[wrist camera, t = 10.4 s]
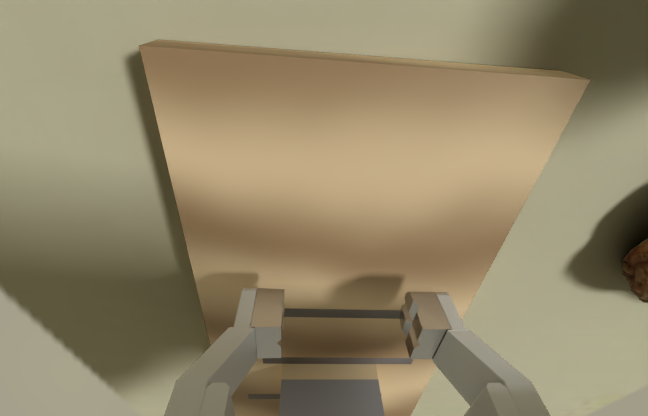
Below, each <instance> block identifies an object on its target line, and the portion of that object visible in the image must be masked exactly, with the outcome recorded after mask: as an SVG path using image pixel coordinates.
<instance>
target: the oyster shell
mask: <svg viewBox="0 0 648 416" xmlns="http://www.w3.org/2000/svg"><path fill="white" fill-rule="evenodd" d="M623 260H624V261H622V262H621V264H622V266H623V272H622V274H623V275H625V276H626V278H627V280H629V285H630V287H631V291H632V292H633V293H634V294H635V295H637V296H638V297H639V299H640V300H641V301H643V302H644V303H648V238H647V239H645V240H644V241H643V242H641V243H640V244H639V245H637V246H636V247H634V248H633V249H632V250H631V251H630V252H629V253H628V254H627V255H626V256H625V257H624V258H623Z"/></svg>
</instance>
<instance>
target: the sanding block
mask: <svg viewBox="0 0 648 416" xmlns="http://www.w3.org/2000/svg"><path fill="white" fill-rule="evenodd" d="M279 416H385V415H384V409H383V403H382V398H381V392H380V386H379V381H378V375H377V369H376V364H282V378H281V391H280V405H279Z"/></svg>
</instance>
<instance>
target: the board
mask: <svg viewBox="0 0 648 416" xmlns="http://www.w3.org/2000/svg"><path fill="white" fill-rule="evenodd" d="M139 48H140V52H141V57H142V61H143V65H144V69H145V73H146V78H147V82H148V86H149V90H150V94H151V99H152V103H153V107H154V111H155V115H156V120H157V124H158V128H159V132H160V136H161V141H162V145H163V149H164V153H165V157H166V162H167V166H168V170H169V174H170V178H171V183H172V187H173V191H174V195H175V199H176V204H177V208H178V212H179V216H180V220H181V225H182V229H183V233H184V237H185V241H186V246H187V250H188V254H189V258H190V262H191V267H192V271H193V275H194V279H195V283H196V288H197V292H198V296H199V300H200V304H201V309H202V313H203V317H204V321H205V325H206V330H207V334H208V338H209V342H210V346H211V345H212V344H213V343H214V342H215V341H216V340H217V339H218V338H219V337H220V336H221V335H222V334H223V333H224V332H225V331H226V330H227V329H228V328H229V327H234V322H235V318H236V314H237V309H238V305H239V301H240V296H241V292H242V290H243V288H269V289H285V300H284V303H285V314H284V329H283V342H282V354H281V358H257V361H256V362H255V364H254V365H253V367H252V368H251V369H250V371H249V372H248V374H247V375H246V376H245V378H244V379H243V381H242V382H241V383H240V385H239V386H238V388H237V389H236V391H235V392H234V393H233V395H232V396H231V397H232V402H233V408H234V413H235V416H279V405H280V391H281V378H282V364H376V369H377V375H378V381H379V386H380V392H381V398H382V403H383V409H384V415H385V416H410V415H411V413H412V412H413V410H414V408H415V406H416V404H417V402H418V400H419V399H420V397H421V395H422V393H423V391H424V389H425V387H426V386H427V384H428V382H429V380H430V378H431V376H432V374H433V372H434V371H435V369H436V367H437V366H436V365H435V363H434V362H433V361H432V359H410V358H409V354H408V350H407V347H406V343H405V341H406V338H407V335H406V334H405V333H404V332H403V331H402V328H401V325H400V310H401V306H402V305H403V304H405V303H406V302H405V299H404V297H405V295H406V293H407V292H447V293H448V294H449V295H450V297H451V299H452V301H453V303H454V305H455V307H456V310H457V312H458V314H459V316H460V318H461V320H462V318H463V317H464V315H465V313H466V311H467V309H468V307H469V305H470V304H471V302H472V300H473V298H474V296H475V294H476V292H477V291H478V289H479V287H480V285H481V283H482V281H483V279H484V278H485V276H486V274H487V272H488V270H489V268H490V266H491V264H492V263H493V261H494V259H495V257H496V255H497V253H498V251H499V250H500V248H501V246H502V244H503V242H504V240H505V238H506V237H507V235H508V233H509V231H510V229H511V227H512V225H513V224H514V222H515V220H516V218H517V216H518V214H519V212H520V210H521V209H522V207H523V205H524V203H525V201H526V199H527V197H528V196H529V194H530V192H531V190H532V188H533V186H534V184H535V183H536V181H537V179H538V177H539V175H540V173H541V171H542V170H543V168H544V166H545V164H546V162H547V160H548V158H549V157H550V155H551V153H552V151H553V149H554V147H555V145H556V143H557V142H558V140H559V138H560V136H561V134H562V132H563V130H564V129H565V127H566V125H567V123H568V121H569V119H570V117H571V116H572V114H573V112H574V110H575V108H576V106H577V104H578V103H579V101H580V99H581V97H582V95H583V93H584V91H585V89H586V88H587V86H588V84H589V82H590V80H589V79H586V78H583V77H580V76H577V75H574V74H570V73H567V72H564V71H558V70H545V69H533V68H520V67H507V66H494V65H481V64H468V63H455V62H442V61H429V60H416V59H404V58H391V57H378V56H365V55H352V54H339V53H326V52H313V51H300V50H287V49H275V48H262V47H249V46H236V45H223V44H210V43H197V42H184V41H171V40H159V39H158V40H155V41H152V42H149V43H146V44H143V45H139Z"/></svg>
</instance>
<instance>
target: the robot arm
mask: <svg viewBox="0 0 648 416" xmlns="http://www.w3.org/2000/svg"><path fill="white" fill-rule="evenodd" d="M404 299H405V302H406V303H405V304H403V305H402V306H401V310H400V325H401V328H402V331H403V332H404V333H405V334H406V335H407V338H406V341H405V343H406V347H407V350H408V354H409V358H410V359H432V361H433V362H434V363H435V365H436V366H437V367H438V368H439V369H440V370H441V372H442V373H443V374H444V375H445V376H446V378H447V379H448V380H449V381H450V382H451V384H452V385H453V386H454V387H455V388H456V390H457V391H458V392H459V393H460V394H461V395H462V397H463V398H464V399H465V400H466V401H467V403H468V404H469V405H470V408H469V409H468V410H467V412H466V413H465V415H464V416H550V414H549V412H548V410H547V409H546V407H545V405H544V403H543V402H542V400H541V398H540V396H539V395H538V393H537V391H536V389H535V388H534V386H533V384H532V382H531V381H530V380H528V379H527V378H526V377H525V376H524V375H523V374H521V373H520V372H519V371H518V370H517V369H515V368H514V367H513V366H512V365H511V364H509V363H508V362H507V361H506V360H505V359H504V358H502V357H501V356H500V355H499V354H498V353H496V352H495V351H494V350H493V349H492V348H490V347H489V346H488V345H487V344H486V343H485V342H483V341H482V340H481V339H480V338H479V337H477V336H476V335H475V334H474V333H473V332H471V331H470V330H466V329H465V326H464V324H463V322H462V320H461V318H460V316H459V314H458V312H457V310H456V307H455V305H454V303H453V301H452V299H451V297H450V295H449V294H448V293H447V292H407V293H406V295H405V297H404ZM284 300H285V289H269V288H243V290H242V292H241V296H240V301H239V305H238V309H237V314H236V318H235V322H234V327H229V328H228V329H227V330H226V331H225V332H224V333H223V334H222V335H221V336H220V337H219V338H218V339H217V340H216V341H215V342H214V343H213V344H212V345H211V346H210V347H209V348H208V349H207V350H206V351H205V352H204V353H203V354H202V355H201V356H200V357H199V358H198V359H197V361H196V362H195V363H194V364H193V365H192V366H191V367H190V368H189V369H188V370H187V371H186V372H185V373H184V374H183V375H182V376H181V377H180V378H179V379H178V380H177V381H176V383H175V386H174V389H173V392H172V395H171V397H170V400H169V403H168V406H167V409H166V412H165V414H164V416H235V413H234V408H233V402H232V397H231V396H232V395H233V393H234V392H235V391H236V389H237V388H238V386H239V385H240V383H241V382H242V381H243V379H244V378H245V376H246V375H247V374H248V372H249V371H250V369H251V368H252V367H253V365H254V364H255V362H256V361H257V358H281V354H282V342H283V329H284V314H285V303H284Z"/></svg>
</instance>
